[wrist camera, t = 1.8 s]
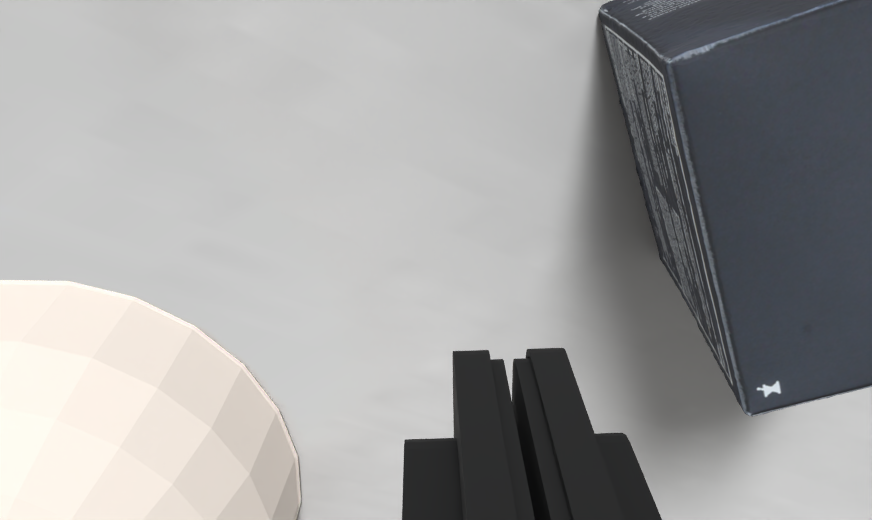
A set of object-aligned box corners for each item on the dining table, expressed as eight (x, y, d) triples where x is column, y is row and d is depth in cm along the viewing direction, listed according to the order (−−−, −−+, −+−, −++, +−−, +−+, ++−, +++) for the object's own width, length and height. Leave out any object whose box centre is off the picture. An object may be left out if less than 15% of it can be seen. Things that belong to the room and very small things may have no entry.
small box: (827, 216, 29) (993, 370, 19) (659, 263, 30) (738, 429, 21) (784, -64, 25) (969, -42, 15) (591, 4, 26) (652, 64, 17)
